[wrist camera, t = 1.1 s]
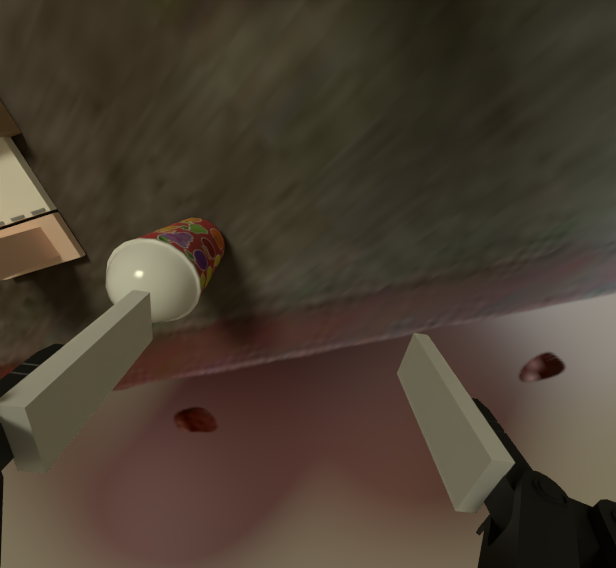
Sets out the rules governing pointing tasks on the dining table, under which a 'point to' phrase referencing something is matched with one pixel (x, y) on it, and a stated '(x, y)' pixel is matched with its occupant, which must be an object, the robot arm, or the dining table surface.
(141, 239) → the smoothie
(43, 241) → the stub
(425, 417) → the robot arm
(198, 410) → the dining table surface
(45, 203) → the base
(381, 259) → the dining table surface
